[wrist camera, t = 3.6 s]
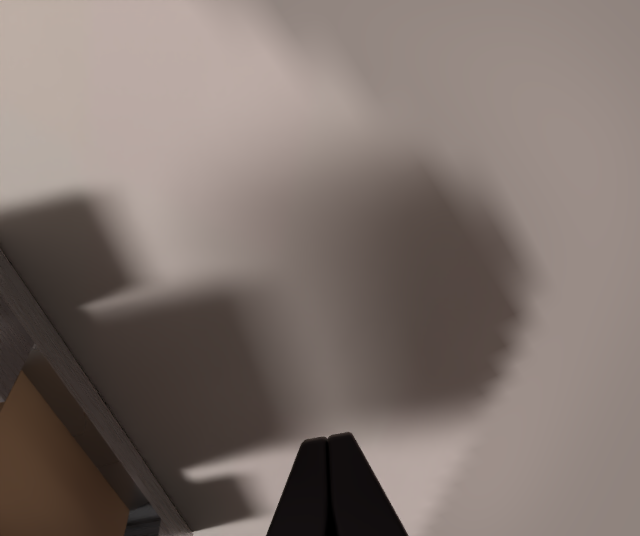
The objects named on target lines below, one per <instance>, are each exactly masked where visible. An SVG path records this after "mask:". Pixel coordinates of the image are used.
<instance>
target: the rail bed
mask: <svg viewBox="0 0 640 536" xmlns="http://www.w3.org/2000/svg"><path fill="white" fill-rule="evenodd" d="M21 370H22V371H23V372H24V374H25V375H26V376H27V378H28V379H29V380H30V381H31V383H32V384H33V385H34V387H35V388H36V389H37V391H38V392H39V393H40V394H41V396H42V397H43V398H44V400H45V401H46V402H47V404H48V405H49V406H50V407H51V409H52V410H53V411H54V413H55V414H56V415H57V417H58V418H59V419H60V420H61V422H62V423H63V424H64V426H65V427H66V428H67V430H68V431H69V432H70V433H71V435H72V436H73V437H74V439H75V440H76V441H77V443H78V444H79V445H80V446H81V448H82V449H83V450H84V452H85V453H86V454H87V456H88V457H89V458H90V459H91V461H92V462H93V463H94V465H95V466H96V467H97V469H98V470H99V471H100V473H101V474H102V475H103V476H104V478H105V479H106V480H107V482H108V483H109V484H110V486H111V487H112V488H113V489H114V491H115V492H116V493H117V495H118V496H119V497H120V499H121V500H122V501H123V502H124V504H125V505H126V506H127V508H128V509H129V510H130V512H129V516H128V520H127V525H126V529H125V533H124V536H193V533H192V532H191V530H190V529H189V527H188V526H187V524H186V523H185V521H184V520H183V518H182V517H181V516H180V514H179V513H178V511H177V510H176V508H175V507H174V505H173V504H172V502H171V501H170V499H169V498H168V496H167V495H166V493H165V492H164V490H163V489H162V487H161V486H160V484H159V483H158V481H157V480H156V478H155V477H154V475H153V474H152V473H151V471H150V470H149V468H148V467H147V465H146V464H145V462H144V461H143V459H142V458H141V456H140V455H139V453H138V452H137V450H136V449H135V447H134V446H133V444H132V443H131V441H130V440H129V438H128V437H127V435H126V434H125V432H124V431H123V430H122V428H121V427H120V425H119V424H118V422H117V421H116V419H115V418H114V416H113V415H112V413H111V412H110V410H109V409H108V407H107V406H106V404H105V403H104V401H103V400H102V398H101V397H100V395H99V394H98V392H97V391H96V389H95V388H94V387H93V385H92V384H91V382H90V381H89V379H88V378H87V376H86V375H85V373H84V372H83V370H82V369H81V367H80V366H79V364H78V363H77V361H76V360H75V358H74V357H73V355H72V354H71V352H70V351H69V349H68V348H67V346H66V345H65V344H64V342H63V341H62V339H61V338H60V336H59V335H58V333H57V332H56V330H55V329H54V327H53V326H52V324H51V323H50V321H49V320H48V318H47V317H46V315H45V314H44V312H43V311H42V309H41V308H40V306H39V305H38V303H37V302H36V300H35V299H34V298H33V296H32V295H31V293H30V292H29V290H28V289H27V287H26V286H25V284H24V283H23V281H22V280H21V278H20V277H19V275H18V274H17V272H16V271H15V269H14V268H13V266H12V265H11V263H10V262H9V260H8V259H7V257H6V256H5V255H4V253H3V252H2V250H1V249H0V403H1V402H5V401H6V399H7V397H8V395H9V393H10V391H11V389H12V387H13V385H14V383H15V381H16V379H17V377H18V375H19V373H20V371H21Z"/></svg>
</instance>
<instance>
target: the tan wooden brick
mask: <svg viewBox="0 0 640 536" xmlns="http://www.w3.org/2000/svg"><path fill="white" fill-rule="evenodd" d="M129 512H130V510H129V509H128V508H127V506H126V505H125V504H124V502H123V501H122V500H121V499H120V497H119V496H118V495H117V493H116V492H115V491H114V489H113V488H112V487H111V486H110V484H109V483H108V482H107V480H106V479H105V478H104V476H103V475H102V474H101V473H100V471H99V470H98V469H97V467H96V466H95V465H94V463H93V462H92V461H91V459H90V458H89V457H88V456H87V454H86V453H85V452H84V450H83V449H82V448H81V446H80V445H79V444H78V443H77V441H76V440H75V439H74V437H73V436H72V435H71V433H70V432H69V431H68V430H67V428H66V427H65V426H64V424H63V423H62V422H61V420H60V419H59V418H58V417H57V415H56V414H55V413H54V411H53V410H52V409H51V407H50V406H49V405H48V404H47V402H46V401H45V400H44V398H43V397H42V396H41V394H40V393H39V392H38V391H37V389H36V388H35V387H34V385H33V384H32V383H31V381H30V380H29V379H28V378H27V376H26V375H25V374H24V372H23V371H22V370H21V371H20V373H19V375H18V377H17V379H16V381H15V383H14V385H13V387H12V389H11V391H10V393H9V395H8V397H7V399H6V401H5V402H1V403H0V536H124V533H125V529H126V525H127V520H128V516H129Z"/></svg>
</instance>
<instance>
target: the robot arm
mask: <svg viewBox="0 0 640 536" xmlns="http://www.w3.org/2000/svg"><path fill="white" fill-rule="evenodd" d="M266 536H408V534H407V532H406V530H405V528H404V527H403V525H402V523H401V521H400V519H399V517H398V516H397V514H396V512H395V510H394V508H393V507H392V505H391V503H390V501H389V499H388V498H387V496H386V494H385V492H384V490H383V488H382V487H381V485H380V483H379V481H378V479H377V478H376V476H375V474H374V472H373V470H372V469H371V467H370V465H369V463H368V461H367V459H366V458H365V456H364V454H363V452H362V450H361V449H360V447H359V445H358V443H357V441H356V440H355V438H354V436H353V434H352V433H350V432H345V433H340V434H334V435H331V436H329V437H328V439H327V438H326V437H318V438H312V439H307V440H304V441H303V442H302V444H301V446H300V448H299V451H298V453H297V456H296V459H295V461H294V464H293V467H292V469H291V472H290V474H289V477H288V480H287V482H286V485H285V487H284V490H283V493H282V495H281V498H280V501H279V503H278V506H277V508H276V511H275V514H274V516H273V519H272V522H271V524H270V527H269V529H268V532H267V535H266Z"/></svg>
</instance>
